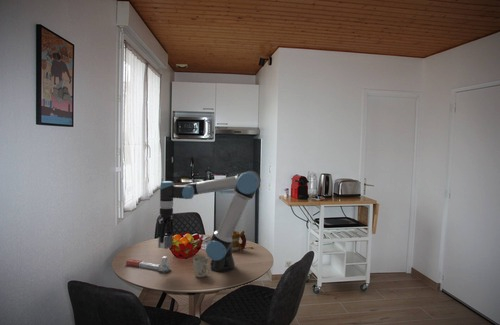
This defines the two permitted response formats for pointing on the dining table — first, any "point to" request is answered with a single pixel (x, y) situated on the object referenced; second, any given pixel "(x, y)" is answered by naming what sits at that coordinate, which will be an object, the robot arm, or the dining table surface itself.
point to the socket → (167, 241)
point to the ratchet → (150, 265)
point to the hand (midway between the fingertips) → (165, 246)
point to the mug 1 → (200, 266)
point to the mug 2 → (235, 241)
